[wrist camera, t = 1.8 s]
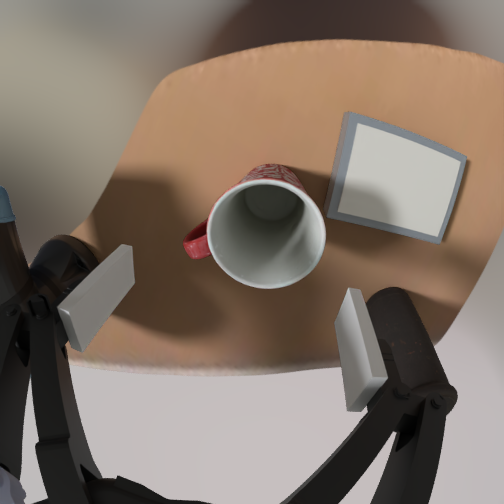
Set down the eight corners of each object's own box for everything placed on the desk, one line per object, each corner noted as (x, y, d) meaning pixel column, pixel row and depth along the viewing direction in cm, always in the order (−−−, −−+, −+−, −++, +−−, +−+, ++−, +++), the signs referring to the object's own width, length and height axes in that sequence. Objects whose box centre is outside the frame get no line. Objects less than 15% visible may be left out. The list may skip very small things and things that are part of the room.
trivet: (322, 209, 33) (326, 218, 30) (344, 112, 27) (350, 111, 25) (429, 235, 33) (440, 245, 30) (454, 152, 27) (468, 156, 24)
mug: (298, 146, 30) (310, 164, 18) (318, 218, 34) (335, 276, 22) (196, 176, 33) (148, 213, 21) (221, 242, 36) (192, 305, 24)
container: (361, 336, 41) (385, 446, 24) (357, 292, 38) (392, 413, 20) (410, 323, 39) (450, 424, 22) (411, 278, 36) (470, 385, 18)
